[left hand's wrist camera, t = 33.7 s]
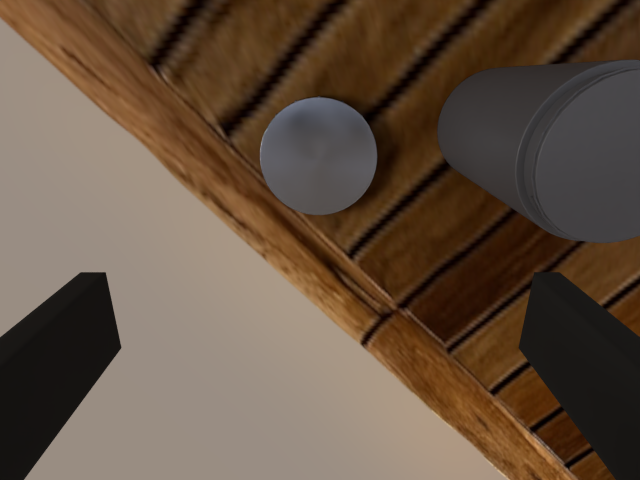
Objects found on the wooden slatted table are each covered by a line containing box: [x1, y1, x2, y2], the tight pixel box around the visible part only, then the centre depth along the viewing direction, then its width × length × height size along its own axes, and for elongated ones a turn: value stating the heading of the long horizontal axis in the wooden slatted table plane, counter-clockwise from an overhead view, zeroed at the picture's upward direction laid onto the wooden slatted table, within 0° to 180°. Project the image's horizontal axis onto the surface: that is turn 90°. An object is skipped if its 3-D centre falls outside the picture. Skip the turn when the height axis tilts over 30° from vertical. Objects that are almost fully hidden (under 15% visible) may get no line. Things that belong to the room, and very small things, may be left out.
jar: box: [437, 60, 640, 243], centre depth 30 cm, size 10×10×18 cm
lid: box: [260, 96, 377, 215], centre depth 39 cm, size 11×11×2 cm
